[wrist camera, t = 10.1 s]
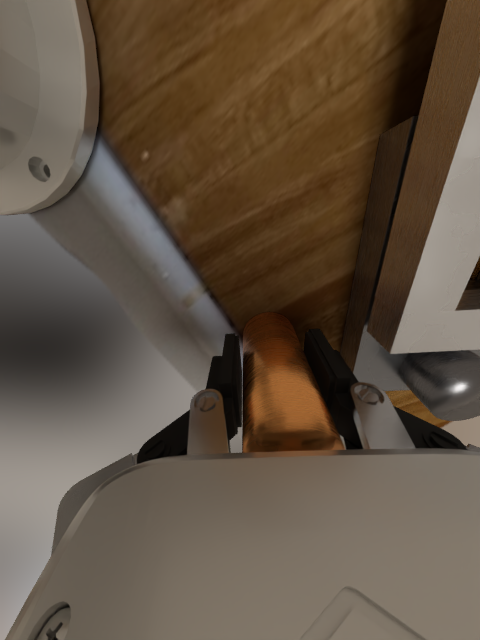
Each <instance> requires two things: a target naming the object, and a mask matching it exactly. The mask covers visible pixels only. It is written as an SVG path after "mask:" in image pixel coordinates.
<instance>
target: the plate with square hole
mask: <svg viewBox="0 0 480 640" xmlns="http://www.w3.org/2000/svg"><path fill="white" fill-rule="evenodd" d="M479 256H480V0H447V2H446V6H445V10H444V14H443V18H442V22H441V26H440V30H439V35H438V39H437V43H436V47H435V51H434V55H433V59H432V63H431V68H430V72H429V76H428V80H427V84H426V88H425V92H424V96H423V100H422V105H421V109H420V113H419V117H418V121H417V125H416V129H415V133H414V138H413V142H412V146H411V150H410V154H409V158H408V162H407V166H406V171H405V175H404V179H403V183H402V187H401V191H400V195H399V199H398V203H397V208H396V212H395V216H394V220H393V224H392V228H391V232H390V236H389V241H388V245H387V249H386V253H385V257H384V261H383V265H382V269H381V273H380V278H379V282H378V286H377V290H376V294H375V298H374V302H373V306H372V311H371V315H370V319H369V323H368V327H367V332H368V333H369V334H370V335H371V336H372V337H373V338H374V339H375V340H376V341H377V342H378V343H379V344H380V345H381V346H382V347H383V348H384V349H385V350H386V351H388V352H389V353H390V354H398V353H418V352H438V351H458V350H479V349H480V289H474V290H465V288H466V285H467V283H468V281H469V279H470V276H471V274H472V272H473V270H474V268H475V265H476V263H477V261H478V259H479Z"/></svg>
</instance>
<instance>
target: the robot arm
mask: <svg viewBox="0 0 480 640" xmlns="http://www.w3.org/2000/svg"><path fill="white" fill-rule="evenodd" d="M99 90H100V81H99V71H98V62H97V53H96V44H95V36H94V32H93V28H92V23H91V19H90V15H89V11H88V6H87V2H86V0H0V215H15V214H27V213H32V212H35V211H38V210H40V209H43V208H46V207H49V206H51V205H52V204H54V203H55V202H56V201H58V200H59V199H61V198H62V197H63V196H65V195H66V194H67V193H68V192H69V191H70V190H71V188H72V187H73V186H74V184H75V183H76V182H77V181H78V179H79V178H80V177H81V175H82V173H83V171H84V169H85V166H86V164H87V162H88V160H89V157H90V155H91V153H92V149H93V145H94V140H95V135H96V130H97V125H98V120H99ZM304 354H305V356H306V359H307V361H308V363H309V366H310V368H311V370H312V373H313V375H314V377H315V380H316V382H317V384H318V387H319V389H320V391H321V394H322V396H323V398H324V400H325V403H326V405H327V407H328V410H329V412H330V414H331V417H332V419H333V421H334V424H335V426H336V428H337V431H338V433H339V435H340V438H341V440H342V442H343V445H344V447H345V450H316V451H281V452H249V453H231V450H230V441H229V440H231V439H232V438H233V437H234V436H235V435H236V434H237V432H238V427H242V367H241V356H240V345H239V336H235V333H234V334H225V341H224V347H223V354H222V356H213V358H212V362H211V367H210V372H209V376H208V381H207V386H206V389H205V390H201V391H200V392H198V393H197V394H195V395H194V397H193V398H192V400H191V404H190V410H189V411H187V412H186V413H185V414H183V415H182V416H181V417H179V418H178V419H176V420H175V421H174V422H172V423H171V424H170V425H169V426H167V427H166V428H164V429H163V430H161V431H160V432H159V433H157V434H156V435H155V436H153V437H152V438H151V439H149V440H148V441H147V442H146V443H145V444H144V445H143V446H142V448H141V449H140V451H139V453H137V454H135V455H132V453H131V454H129V455H127V456H125V457H124V458H122V459H120V460H118V461H116V462H115V463H112V464H111V465H109V466H107V467H105V468H103V469H101V470H99V471H98V472H96V473H94V474H92V475H90V476H88V477H86V478H85V479H83V480H81V481H79V482H78V483H76V484H75V485H74V486H72V487H71V488H70V490H69V491H67V493H66V494H65V495H64V497H63V498H62V500H61V502H60V505H59V508H58V513H57V519H56V526H55V533H54V540H53V546H52V554H51V557H50V559H49V561H48V563H47V564H46V566H45V568H44V570H43V571H42V573H41V575H40V577H39V578H38V580H37V582H36V584H35V586H34V587H33V589H32V591H31V593H30V594H29V596H28V598H27V600H26V602H25V603H24V605H23V607H22V609H21V611H20V613H19V615H18V616H17V618H16V620H15V622H14V624H13V626H12V627H11V629H10V631H9V633H8V635H7V637H6V639H5V640H480V448H479V447H476V446H473V445H471V444H468V445H467V446H464V445H463V444H462V443H461V441H460V440H459V439H457V438H456V437H454V436H453V435H452V434H450V433H448V432H446V431H445V430H443V429H441V428H439V427H437V426H434V425H432V424H430V423H428V422H426V421H424V420H422V419H420V418H418V417H415V416H413V415H411V414H409V413H407V412H405V411H403V410H401V409H399V408H397V407H394V406H393V405H392V403H391V401H390V399H389V398H388V396H387V394H386V393H385V392H384V391H383V390H382V389H380V388H379V387H377V386H375V385H373V384H370V383H365V382H359V381H358V380H357V378H356V377H355V375H354V374H353V373H352V371H351V370H350V368H349V367H348V365H347V364H346V362H345V361H344V359H343V358H342V356H341V355H340V353H339V352H338V351H337V350H333V349H332V347H331V346H330V344H329V343H328V341H327V339H326V338H325V336H324V335H323V333H322V332H321V330H320V329H309V331H308V332H306V333H305V342H304Z"/></svg>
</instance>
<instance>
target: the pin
mask: <svg viewBox="0 0 480 640" xmlns="http://www.w3.org/2000/svg"><path fill="white" fill-rule="evenodd" d="M242 443H243V444H242V445H243V447H242V450H243V451H242V453H249V452H281V451H316V450H345V447H344V445H343V442H342V440H341V438H340V435H339V433H338V431H337V428H336V426H335V424H334V421H333V419H332V417H331V414H330V412H329V410H328V407H327V405H326V403H325V400H324V398H323V396H322V394H321V391H320V389H319V387H318V384H317V382H316V380H315V377H314V375H313V373H312V370H311V368H310V366H309V363H308V361H307V359H306V356H305V354H304V352H303V349H302V347H301V345H300V342H299V340H298V338H297V335H296V333H295V331H294V328H293V326H292V324H291V322H290V321H289V320H288V319H287V318H286V317H285V316H283V315H281V314H278V313H274V312H265V313H261V314H258V315H256V316H254V317H253V318H251V319H250V320H249V321H248V322H247V324H246V325H245V328H244V331H243V436H242Z"/></svg>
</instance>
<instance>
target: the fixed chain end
mask: <svg viewBox="0 0 480 640" xmlns="http://www.w3.org/2000/svg"><path fill="white" fill-rule="evenodd" d="M418 117H419V116H413V117H411V118H409V119H407V120H406V121H404V122H402V123H400V124H398V125H397V126H395V127H393V128H391V129H389V130H388V131H386V132H384V133H382V134H380V138H379V143H378V149H377V154H376V160H375V165H374V170H373V176H372V181H371V187H370V192H369V198H368V203H367V209H366V214H365V219H364V225H363V230H362V236H361V241H360V247H359V252H358V258H357V263H356V268H355V274H354V279H353V285H352V290H351V296H350V301H349V307H348V312H347V317H346V323H345V328H344V334H343V339H342V345H341V350H340V355H341V356H342V358H343V359H344V361H345V362H346V364H347V365H348V367H349V368H350V370H351V371H352V373H353V374H354V375H355V377H356V378H357V380H358V381H359V382H365V383H370V384H373V385H375V386H377V387H379V388H380V389H382V390H383V391H393V390H411V391H412V392H413V393H414V394H415V395H416V396H417V398H418V399H419V400H420V401H421V402H422V403H423V404H424V405H425V406H426V407H427V408H428V409H429V410H430V412H431V413H432V414H433V415H434V416H436V417H437V418H439V419H442V420H448V421H459V420H466V419H470V418H474V417H477V416H479V415H480V349H479V350H458V351H438V352H418V353H398V354H390V353H389V352H388V351H386V350H385V349H384V348H383V347H382V346H381V345H380V344H379V343H378V342H377V341H376V340H375V339H374V338H373V337H372V336H371V335H370V334H369V333H368V332H367V327H368V323H369V319H370V315H371V311H372V306H373V302H374V298H375V294H376V290H377V286H378V282H379V278H380V273H381V269H382V265H383V261H384V257H385V253H386V249H387V245H388V241H389V236H390V232H391V228H392V224H393V220H394V216H395V212H396V208H397V203H398V199H399V195H400V191H401V187H402V183H403V179H404V175H405V171H406V166H407V162H408V158H409V154H410V150H411V146H412V142H413V138H414V133H415V129H416V125H417V121H418ZM474 289H480V272H479V274H478V276H477V278H476V279H474V280H469V281H468V283H467V285H466V288H465V290H474Z"/></svg>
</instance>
